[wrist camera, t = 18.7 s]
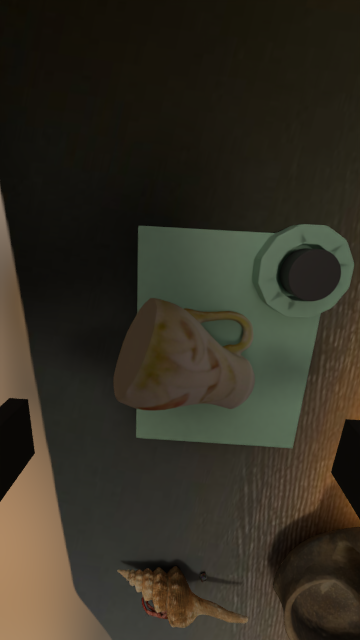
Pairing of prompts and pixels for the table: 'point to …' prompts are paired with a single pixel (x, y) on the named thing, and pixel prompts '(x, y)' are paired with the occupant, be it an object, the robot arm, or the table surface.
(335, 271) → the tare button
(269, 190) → the table surface
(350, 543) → the bowl
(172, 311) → the mug
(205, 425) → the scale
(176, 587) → the spiral seashell
